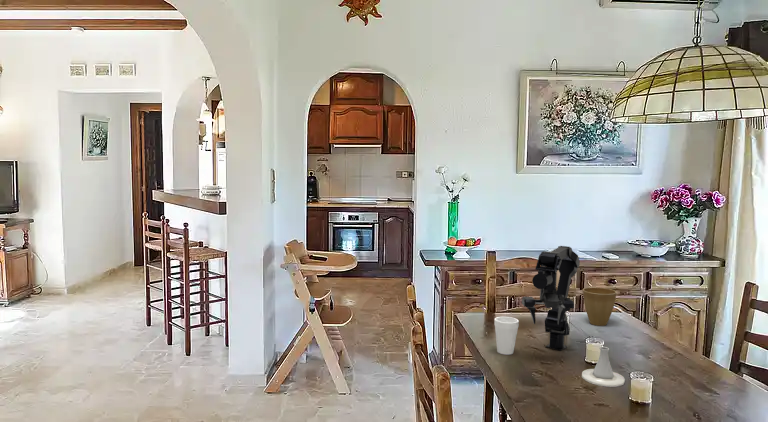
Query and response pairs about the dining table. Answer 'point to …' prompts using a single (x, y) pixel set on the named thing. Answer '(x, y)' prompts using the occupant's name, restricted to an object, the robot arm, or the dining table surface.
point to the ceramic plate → (614, 382)
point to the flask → (603, 365)
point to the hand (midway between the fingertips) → (546, 324)
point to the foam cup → (506, 334)
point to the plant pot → (599, 304)
